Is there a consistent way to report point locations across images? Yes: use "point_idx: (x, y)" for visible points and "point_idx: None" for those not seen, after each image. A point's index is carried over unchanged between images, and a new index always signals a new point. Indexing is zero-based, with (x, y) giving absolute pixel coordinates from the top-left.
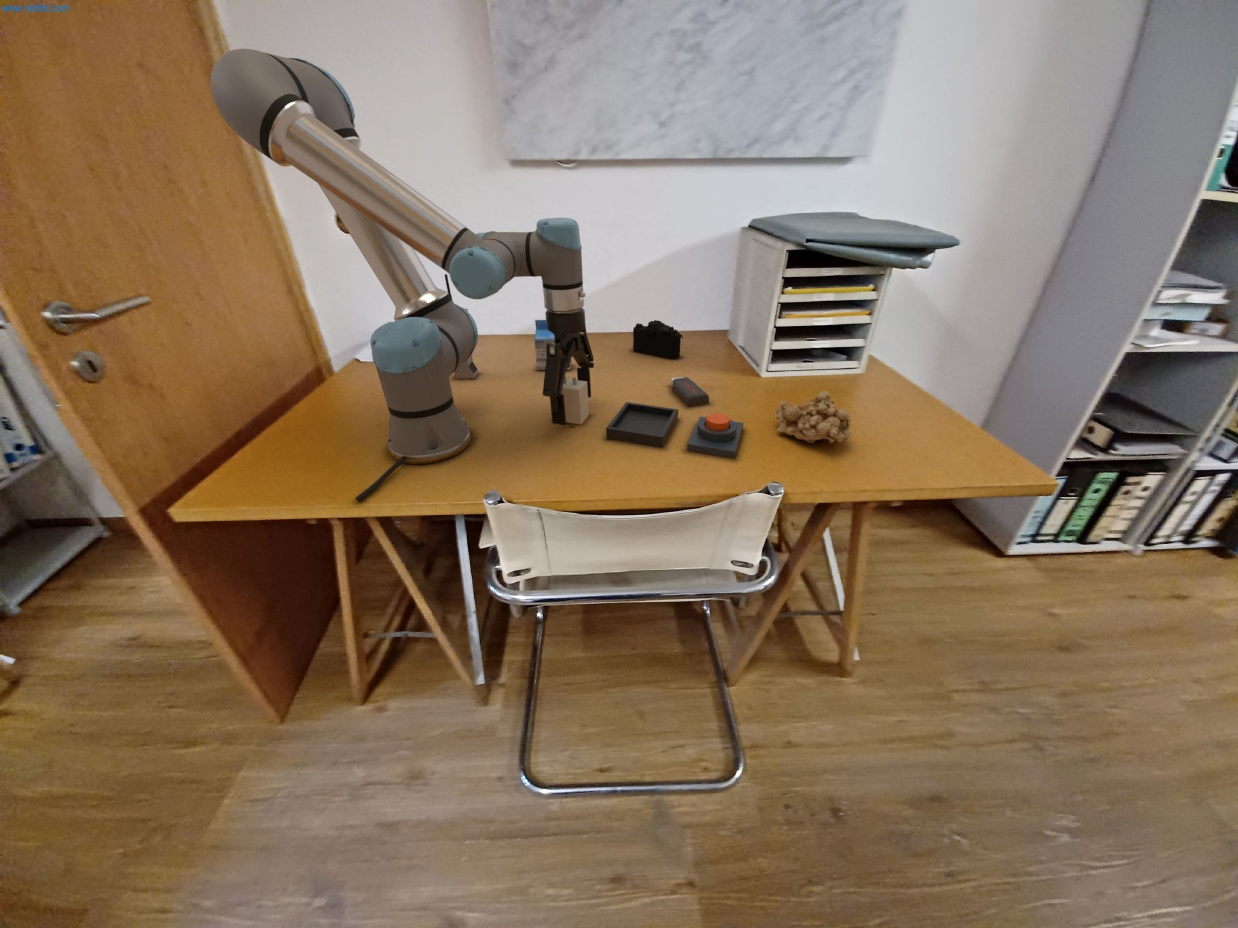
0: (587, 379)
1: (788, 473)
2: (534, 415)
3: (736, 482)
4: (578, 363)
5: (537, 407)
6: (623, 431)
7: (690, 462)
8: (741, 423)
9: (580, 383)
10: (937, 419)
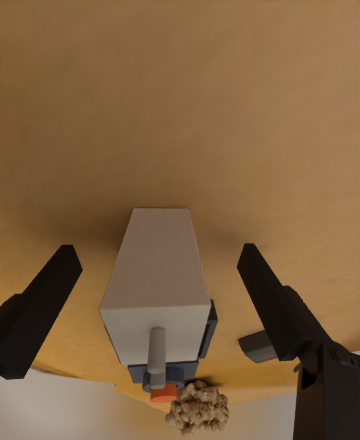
0: (261, 316)
1: (132, 385)
2: (139, 130)
3: (99, 376)
4: (318, 381)
5: (202, 110)
6: (110, 339)
7: (110, 359)
8: (191, 378)
9: (173, 355)
10: (232, 401)
